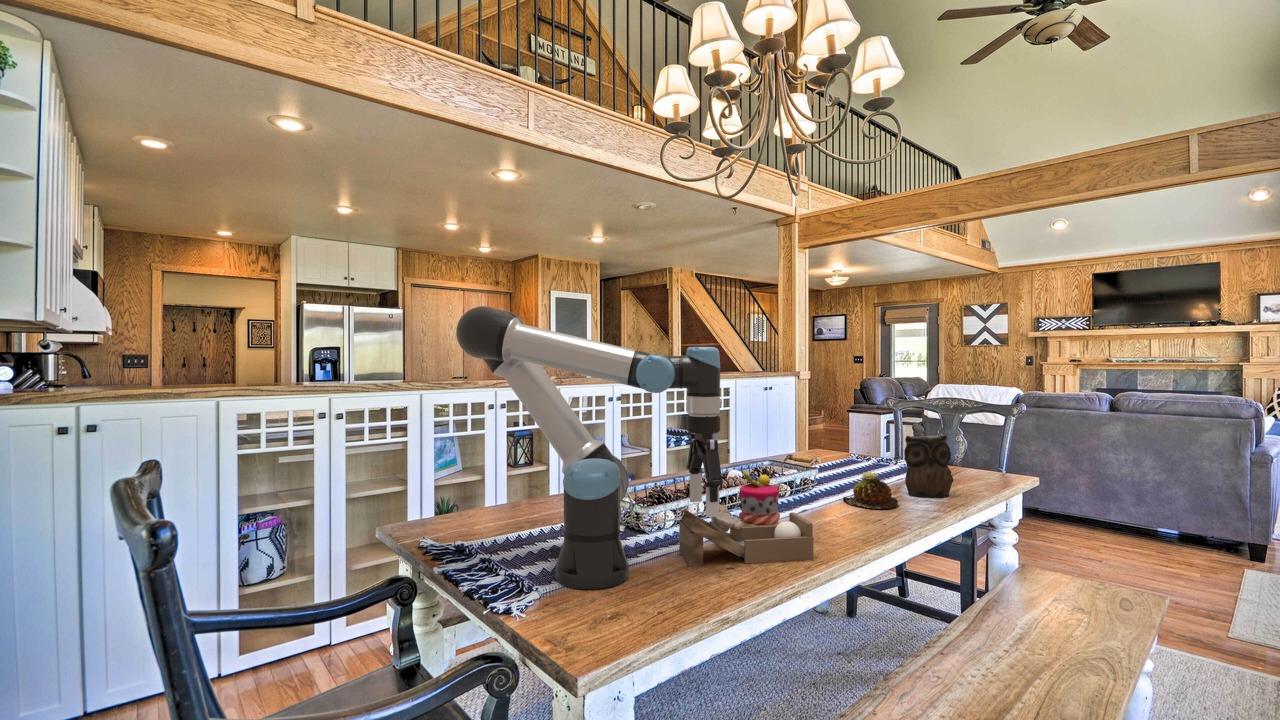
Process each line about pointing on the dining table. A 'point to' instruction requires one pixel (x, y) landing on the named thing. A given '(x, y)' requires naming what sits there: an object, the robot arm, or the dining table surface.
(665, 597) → the dining table surface
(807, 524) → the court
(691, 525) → the ramp
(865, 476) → the cactus
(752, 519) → the cake
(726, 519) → the rock
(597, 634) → the dining table surface
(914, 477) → the dark brown owl statuette
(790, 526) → the ball
